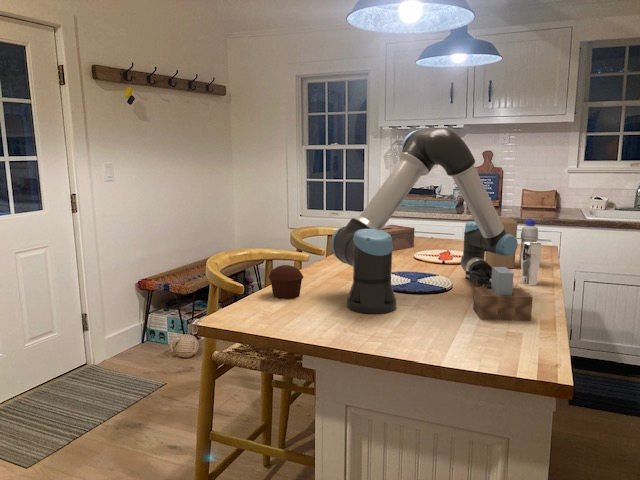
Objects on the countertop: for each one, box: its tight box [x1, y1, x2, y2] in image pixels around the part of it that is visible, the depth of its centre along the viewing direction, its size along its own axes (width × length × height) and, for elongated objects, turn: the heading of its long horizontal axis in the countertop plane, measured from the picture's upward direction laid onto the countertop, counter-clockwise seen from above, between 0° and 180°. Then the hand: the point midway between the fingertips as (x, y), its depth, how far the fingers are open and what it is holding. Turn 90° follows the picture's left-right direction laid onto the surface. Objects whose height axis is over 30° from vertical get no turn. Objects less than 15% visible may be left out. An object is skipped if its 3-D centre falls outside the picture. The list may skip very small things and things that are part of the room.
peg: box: [491, 267, 514, 295], centre depth 154 cm, size 4×8×13 cm, turn 176°
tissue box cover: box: [381, 224, 415, 252], centre depth 255 cm, size 26×14×10 cm, turn 131°
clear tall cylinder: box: [519, 242, 542, 287], centre depth 189 cm, size 7×7×15 cm
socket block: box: [472, 285, 533, 322], centre depth 153 cm, size 14×10×8 cm
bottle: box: [519, 219, 539, 267], centre depth 214 cm, size 7×7×20 cm
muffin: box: [268, 264, 304, 300], centre depth 172 cm, size 12×11×10 cm
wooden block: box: [484, 217, 518, 270], centre depth 216 cm, size 10×10×20 cm
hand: (497, 288), depth 158 cm, fingers closed
